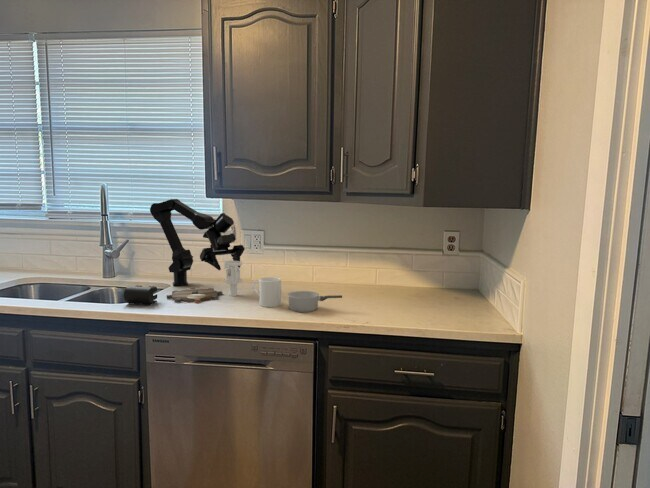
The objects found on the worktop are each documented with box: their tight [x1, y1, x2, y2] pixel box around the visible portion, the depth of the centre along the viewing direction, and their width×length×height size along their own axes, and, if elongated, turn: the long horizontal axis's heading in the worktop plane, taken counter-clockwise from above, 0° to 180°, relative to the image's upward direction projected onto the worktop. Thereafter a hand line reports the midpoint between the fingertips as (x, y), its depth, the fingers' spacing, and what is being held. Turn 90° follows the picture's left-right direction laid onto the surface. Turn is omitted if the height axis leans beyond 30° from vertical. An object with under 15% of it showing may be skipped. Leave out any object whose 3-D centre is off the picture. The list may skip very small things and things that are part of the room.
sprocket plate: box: [166, 287, 223, 304], centre depth 178 cm, size 22×22×2 cm
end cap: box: [123, 285, 158, 306], centre depth 165 cm, size 10×7×7 cm
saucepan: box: [287, 290, 343, 313], centre depth 160 cm, size 12×20×6 cm, turn 85°
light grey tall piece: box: [223, 259, 243, 297], centre depth 180 cm, size 7×7×15 cm
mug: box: [250, 276, 282, 308], centre depth 167 cm, size 8×12×10 cm, turn 73°
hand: (230, 268), depth 181 cm, fingers open, 9 cm apart
